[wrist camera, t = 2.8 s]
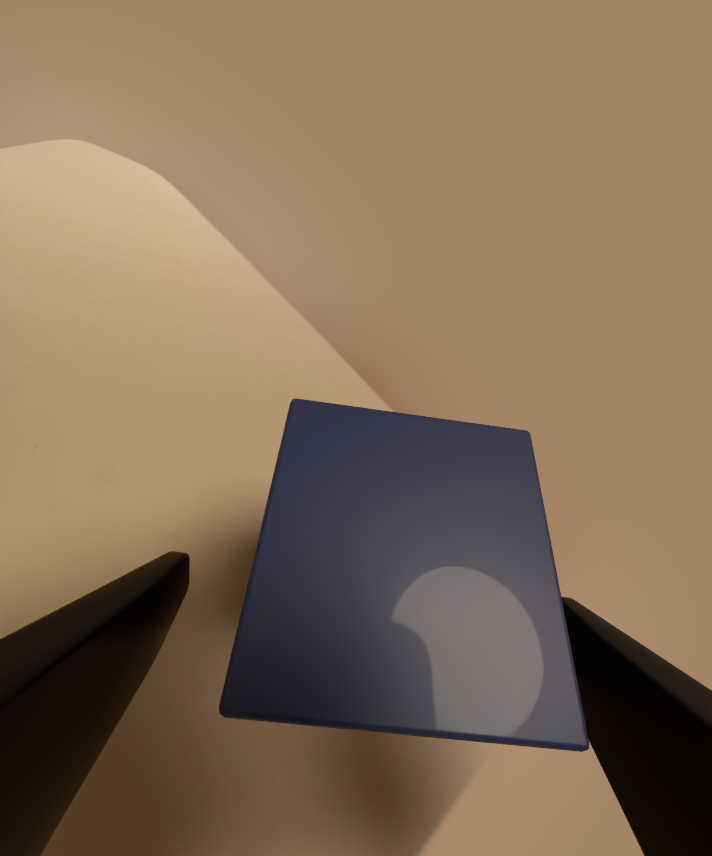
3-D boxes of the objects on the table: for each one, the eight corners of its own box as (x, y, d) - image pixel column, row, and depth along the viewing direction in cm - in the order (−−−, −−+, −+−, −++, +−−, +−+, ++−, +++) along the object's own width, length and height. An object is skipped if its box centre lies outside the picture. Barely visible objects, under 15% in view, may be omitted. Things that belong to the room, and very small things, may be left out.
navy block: (393, 655, 14) (594, 754, 4) (288, 643, 14) (215, 719, 4) (397, 545, 17) (532, 429, 6) (306, 534, 17) (290, 395, 6)
